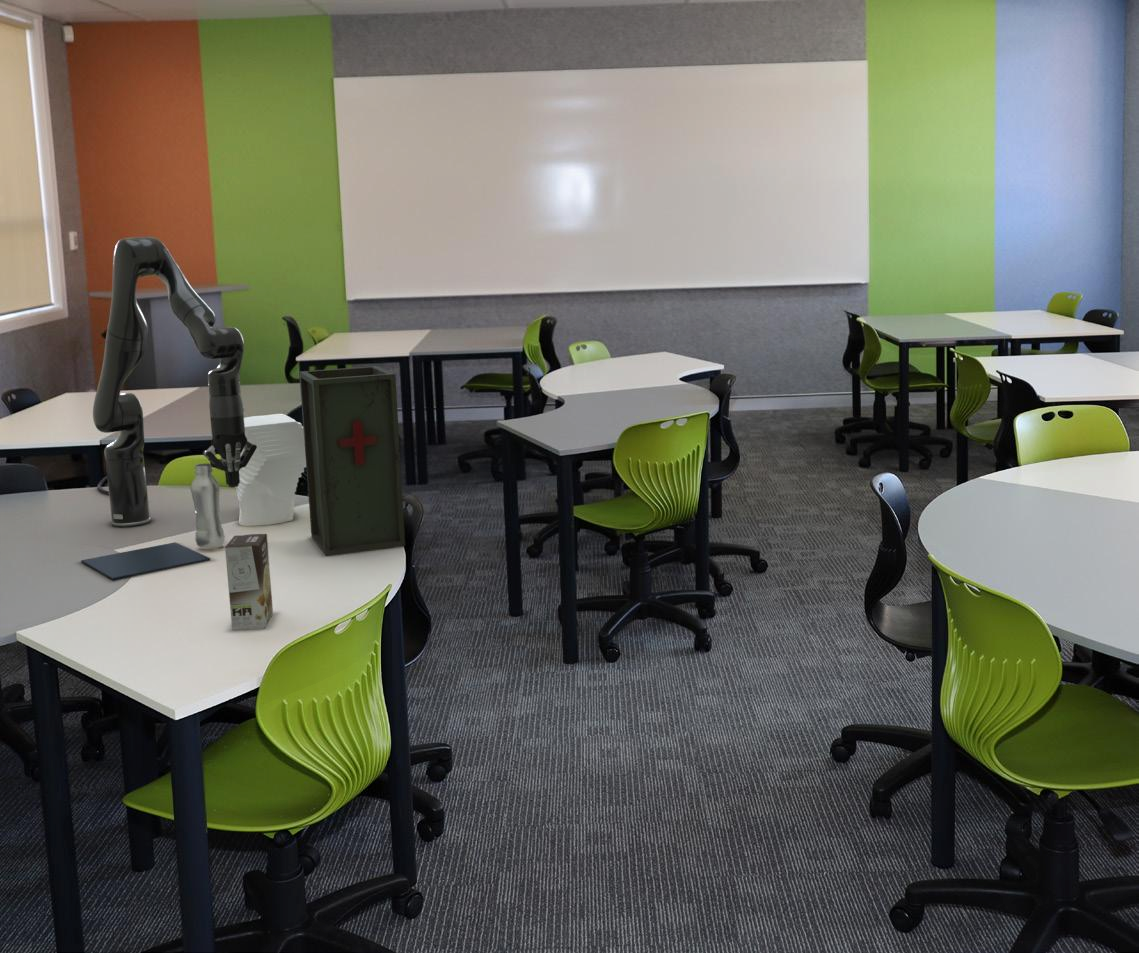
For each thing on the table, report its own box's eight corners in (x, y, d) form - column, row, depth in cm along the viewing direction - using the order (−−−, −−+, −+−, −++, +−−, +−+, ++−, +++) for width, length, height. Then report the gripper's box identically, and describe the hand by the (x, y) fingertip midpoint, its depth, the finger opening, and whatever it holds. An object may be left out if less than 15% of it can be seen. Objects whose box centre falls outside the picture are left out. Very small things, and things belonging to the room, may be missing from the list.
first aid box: (325, 555, 275) (312, 380, 267) (311, 537, 292) (299, 371, 284) (405, 546, 282) (395, 374, 274) (387, 528, 299) (377, 366, 291)
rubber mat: (81, 562, 276) (81, 560, 276) (175, 544, 289) (175, 542, 289) (112, 580, 261) (112, 578, 260) (210, 560, 274) (210, 558, 274)
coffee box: (266, 628, 226) (259, 545, 223) (231, 630, 225) (223, 547, 222) (274, 613, 235) (267, 532, 232) (240, 615, 234) (233, 534, 231)
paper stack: (235, 531, 300) (226, 428, 295) (229, 508, 325) (221, 413, 320) (321, 523, 306) (314, 422, 301) (309, 501, 332) (302, 407, 326)
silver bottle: (217, 552, 281) (210, 467, 277) (190, 551, 282) (182, 467, 278) (230, 545, 287) (223, 462, 283) (204, 544, 288) (196, 461, 284)
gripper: (246, 408, 289) (252, 480, 293) (192, 415, 281) (199, 488, 285) (260, 411, 284) (266, 484, 287) (206, 418, 276) (213, 493, 279)
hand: (233, 486), depth 286 cm, fingers closed
